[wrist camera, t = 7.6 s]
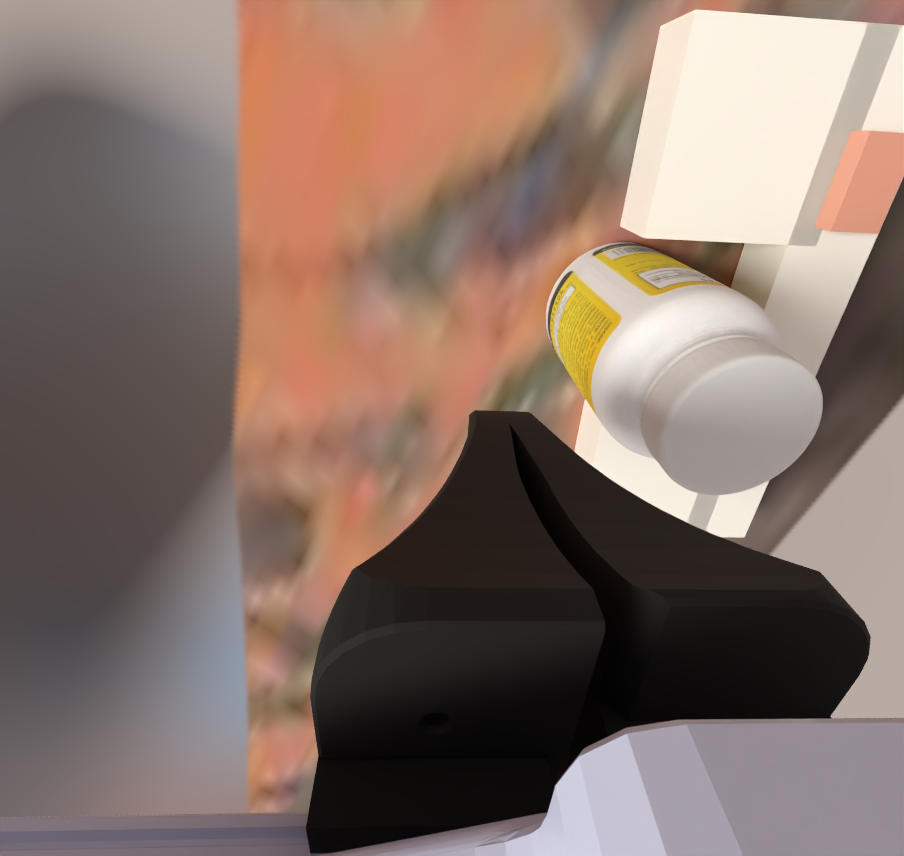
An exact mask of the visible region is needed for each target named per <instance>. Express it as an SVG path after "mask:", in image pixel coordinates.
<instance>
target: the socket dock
mask: <svg viewBox="0 0 904 856" xmlns="http://www.w3.org/2000/svg"><path fill="white" fill-rule="evenodd" d="M903 177H904V25H891V24H878V23H865V22H852V21H839V20H826V19H813V18H800V17H787V16H774V15H761V14H748V13H735V12H722V11H709V10H694V11H692V12H690V13H687V14H685V15H683V16H681V17H679V18H677V19H675V20H672V21H670V22H668V23H666V24H664V25H662V26H660V31H659V36H658V41H657V46H656V51H655V56H654V61H653V66H652V71H651V76H650V81H649V85H648V90H647V95H646V100H645V105H644V110H643V115H642V120H641V125H640V130H639V135H638V140H637V145H636V150H635V155H634V160H633V164H632V169H631V174H630V179H629V184H628V189H627V194H626V199H625V204H624V209H623V214H622V219H621V224H620V227H622V228H624V229H626V230H629V231H631V232H633V233H635V234H637V235H639V236H641V237H643V238H652V239H672V240H693V241H713V242H733V243H745V244H744V247H743V250H742V253H741V256H740V259H739V263H738V266H737V269H736V272H735V275H734V278H733V281H732V284H731V287H730V288H732V289H734V290H736V291H738V292H739V293H741V294H743V295H745V296H746V297H748V298H749V299H751V300H752V301H754V302H755V303H756V304H758V305H759V306H760V307H761V308H762V309H763V310H764V311H765V312H766V313H767V315H768V316H769V317H770V318H771V320H772V322H773V323H774V325H775V327H776V329H777V331H778V334H779V337H780V340H781V344H782V349H783V351H784V352H785V353H787V354H788V355H789V356H791V357H792V358H794V359H795V360H797V361H799V362H800V363H802V364H803V365H805V366H806V367H807V368H808V369H809V370H810V372H811V373H812V374H813V375H814V376H816V374H817V372H818V369H819V367H820V365H821V363H822V360H823V358H824V356H825V354H826V351H827V349H828V347H829V345H830V342H831V340H832V338H833V336H834V333H835V331H836V329H837V326H838V324H839V322H840V320H841V317H842V315H843V313H844V311H845V308H846V306H847V304H848V302H849V299H850V297H851V295H852V292H853V290H854V288H855V286H856V283H857V281H858V279H859V277H860V274H861V272H862V270H863V268H864V265H865V263H866V261H867V259H868V256H869V254H870V252H871V249H872V247H873V245H874V243H875V240H876V238H877V236H878V234H879V231H880V229H881V227H882V225H883V222H884V220H885V218H886V216H887V213H888V211H889V209H890V206H891V204H892V202H893V200H894V197H895V195H896V193H897V191H898V188H899V186H900V184H901V182H902V179H903ZM574 452H575V453H576V454H578V455H579V456H580V457H581V458H583V459H584V460H585V461H586V462H588V463H589V464H590V465H592V466H593V467H594V468H596V469H597V470H598V471H600V472H601V473H603V474H604V475H605V476H607V477H608V478H609V479H611V480H612V481H614V482H615V483H617V484H618V485H620V486H621V487H623V488H625V489H626V490H628V491H630V492H631V493H633V494H635V495H636V496H638V497H639V498H641V499H643V500H644V501H646V502H648V503H650V504H652V505H653V506H655V507H657V508H659V509H661V510H663V511H665V512H667V513H669V514H671V515H673V516H675V517H677V518H679V519H681V520H683V521H685V522H687V523H689V524H691V525H693V526H696V527H698V528H700V529H702V530H705V531H707V532H709V533H711V534H714V535H716V536H719V537H745V535H746V533H747V530H748V528H749V526H750V523H751V521H752V519H753V517H754V514H755V512H756V510H757V508H758V505H759V503H760V501H761V499H762V496H763V494H764V492H765V489H766V487H767V485H768V483H769V481H767V482H765V483H763V484H760V485H758V486H756V487H754V488H751V489H748V490H745V491H742V492H738V493H733V494H726V495H706V494H699V493H696V492H692V491H689V490H687V489H685V488H683V487H681V486H680V485H678V484H677V483H676V482H674V481H673V480H672V479H671V478H670V477H669V476H668V475H667V473H666V472H665V471H664V470H663V468H662V467H661V466H660V464H659V463H658V462H657V461H656V460H655V459H653V458H649V457H645V456H642V455H639V454H637V453H634V452H632V451H630V450H628V449H627V448H625V447H624V446H622V445H621V444H620V443H619V442H617V441H616V440H615V439H614V438H613V437H612V436H611V435H610V434H609V432H608V431H607V430H606V429H605V427H604V426H603V425H602V423H601V422H600V420H599V419H598V417H597V416H596V414H595V413H594V411H593V410H592V408H591V407H590V405H589V404H588V402H587V401H586V399H585V401H584V406H583V411H582V416H581V421H580V426H579V431H578V436H577V441H576V446H575V451H574Z"/></svg>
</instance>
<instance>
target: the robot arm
mask: <svg viewBox="0 0 904 856" xmlns="http://www.w3.org/2000/svg"><path fill="white" fill-rule="evenodd" d="M869 648H870V635H869V632H868V630H867V627H866V625H865V622H864V621H863V620H862V619H861V618H860V617H859V615H858V614H857V613H856V612H855V611H854V610H853V609H852V608H851V606H850V605H849V604H848V603H847V602H846V601H845V600H844V599H843V598H842V596H841V595H840V594H839V593H838V592H837V591H836V589H835V588H834V587H833V586H832V585H831V584H830V583H829V582H828V580H827V579H826V578H825V577H824V576H823V575H822V574H821V573H820V572H818V571H816V570H813V569H810V568H806V567H803V566H800V565H797V564H794V563H791V562H788V561H785V560H782V559H779V558H776V557H773V556H770V555H767V554H764V553H761V552H758V551H755V550H752V549H749V548H746V547H744V546H741V545H739V544H736V543H734V542H731V541H729V540H726V539H724V538H721V537H719V536H716V535H714V534H711V533H709V532H707V531H705V530H702V529H700V528H698V527H696V526H693V525H691V524H689V523H687V522H685V521H683V520H681V519H679V518H677V517H675V516H673V515H671V514H669V513H667V512H665V511H663V510H661V509H659V508H657V507H655V506H653V505H652V504H650V503H648V502H646V501H644V500H643V499H641V498H639V497H638V496H636V495H635V494H633V493H631V492H630V491H628V490H626V489H625V488H623V487H621V486H620V485H618V484H617V483H615V482H614V481H612V480H611V479H609V478H608V477H607V476H605V475H604V474H603V473H601V472H600V471H598V470H597V469H596V468H594V467H593V466H592V465H590V464H589V463H588V462H586V461H585V460H584V459H583V458H581V457H580V456H579V455H578V454H576V453H575V452H574V451H573V450H572V449H570V448H569V447H568V446H567V445H566V444H565V443H563V442H562V441H561V440H560V439H559V438H558V437H557V436H556V435H554V434H553V433H552V432H551V431H550V430H549V429H548V428H547V427H546V426H544V425H543V424H542V423H541V422H540V421H539V420H538V419H537V418H535V417H534V416H533V415H532V414H531V413H529V412H512V411H477V410H475V411H474V412H472V413H471V414H470V415H469V427H468V437H467V440H466V442H465V445H464V447H463V450H462V453H461V455H460V457H459V459H458V461H457V463H456V465H455V466H454V468H453V470H452V472H451V474H450V476H449V477H448V479H447V481H446V482H445V484H444V485H443V487H442V488H441V489H440V491H439V492H438V494H437V495H436V496H435V498H434V499H433V500H432V501H431V503H430V504H429V505H428V506H427V507H426V509H425V510H424V511H423V512H422V513H421V514H420V516H419V517H418V518H417V519H416V520H415V521H414V522H413V523H412V524H411V525H410V526H409V527H408V528H406V529H405V530H404V531H403V532H402V533H401V534H400V535H399V536H398V537H397V538H395V539H394V540H393V541H392V542H391V543H390V544H389V545H387V546H386V547H385V548H384V549H382V550H381V551H379V552H378V553H377V554H375V555H374V556H372V557H371V558H370V559H368V560H367V561H365V562H364V563H362V564H361V565H359V566H357V567H356V568H354V569H353V570H352V571H351V573H350V575H349V577H348V579H347V581H346V583H345V584H344V586H343V588H342V590H341V592H340V594H339V596H338V598H337V600H336V603H335V605H334V607H333V609H332V611H331V614H330V616H329V619H328V621H327V624H326V626H325V629H324V632H323V635H322V638H321V641H320V644H319V648H318V652H317V657H316V662H315V666H314V671H313V676H312V683H311V695H310V698H311V706H312V713H313V720H314V727H315V734H316V741H317V748H318V755H319V757H318V762H317V768H316V774H315V779H314V785H313V790H312V796H311V802H310V807H309V812H293V813H241V814H240V813H235V814H182V815H181V814H175V815H120V816H119V815H116V816H60V817H59V816H58V817H2V818H1V817H0V856H904V718H850V719H849V718H847V719H846V718H845V719H832V718H831V717H830V716H831V714H832V713H833V711H834V710H835V709H836V707H837V706H838V705H839V703H840V701H841V700H842V699H843V697H844V696H845V694H846V693H847V692H848V690H849V689H850V688H851V686H852V685H853V683H854V682H855V680H856V679H857V678H858V676H859V675H860V673H861V671H862V669H863V667H864V665H865V663H866V661H867V659H868V655H869Z"/></svg>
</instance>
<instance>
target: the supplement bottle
mask: <svg viewBox="0 0 904 856" xmlns="http://www.w3.org/2000/svg"><path fill="white" fill-rule="evenodd" d="M546 327H547V332H548V336H549V339H550V342H551V344H552V346H553V348H554V350H555V352H556V354H557V355H558V356H559V358H560V360H561V361H562V363H563V364H564V366H565V368H566V369H567V371H568V372H569V374H570V376H571V377H572V379H573V380H574V382H575V383H576V385H577V387H578V388H579V390H580V391H581V393H582V394H583V396H584V398H585V399H586V401H587V402H588V404H589V405H590V407H591V408H592V410H593V411H594V413H595V414H596V416H597V417H598V419H599V420H600V422H601V423H602V425H603V426H604V427H605V429H606V430H607V431H608V432H609V434H610V435H611V436H612V437H613V438H614V439H615V440H616V441H617V442H619V443H620V444H621V445H622V446H624V447H625V448H627V449H628V450H630V451H632V452H634V453H637V454H639V455H642V456H645V457H649V458H653V459H655V460H656V461H657V462H658V463H659V464H660V466H661V467H662V468H663V470H664V471H665V472H666V473H667V475H668V476H669V477H670V478H671V479H672V480H673V481H674V482H676V483H677V484H678V485H680V486H681V487H683V488H685V489H687V490H689V491H692V492H696V493H699V494H706V495H726V494H733V493H738V492H742V491H745V490H748V489H751V488H754V487H756V486H758V485H760V484H763V483H765V482H767V481H769V480H770V479H772V478H774V477H776V476H777V475H779V474H780V473H781V472H783V471H784V470H785V469H787V468H788V467H789V466H790V465H791V464H792V463H793V462H794V461H796V460H797V458H798V457H799V456H800V455H801V454H802V453H803V452H804V451H805V449H806V448H807V446H808V445H809V443H810V442H811V440H812V439H813V437H814V435H815V433H816V431H817V429H818V427H819V424H820V420H821V416H822V410H823V397H822V392H821V388H820V386H819V384H818V381H817V379H816V378H815V376H814V375H813V374H812V373H811V372H810V370H809V369H808V368H807V367H806V366H805V365H803V364H802V363H800V362H799V361H797V360H795V359H794V358H792V357H791V356H789V355H788V354H787V353H785V352H784V351H783V349H782V344H781V340H780V337H779V334H778V331H777V329H776V327H775V325H774V323H773V322H772V320H771V318H770V317H769V316H768V315H767V313H766V312H765V311H764V310H763V309H762V308H761V307H760V306H759V305H758V304H756V303H755V302H754V301H752V300H751V299H749V298H748V297H746V296H745V295H743V294H741V293H739V292H738V291H736V290H734V289H732V288H730V287H728V286H726V285H724V284H722V283H720V282H718V281H716V280H714V279H712V278H710V277H708V276H706V275H704V274H702V273H700V272H698V271H696V270H694V269H692V268H690V267H688V266H686V265H685V264H683V263H680V262H678V261H677V260H675V259H673V258H671V257H669V256H667V255H665V254H663V253H661V252H659V251H657V250H655V249H653V248H650V247H647V246H644V245H641V244H637V243H631V242H615V243H609V244H605V245H602V246H599V247H596V248H594V249H592V250H590V251H588V252H586V253H584V254H583V255H581V256H580V257H578V258H577V259H576V260H575V261H574V262H572V263H571V264H570V265H569V266H568V267H567V268H566V269H565V270H564V272H563V273H562V274H561V276H560V277H559V279H558V280H557V282H556V283H555V285H554V287H553V289H552V292H551V294H550V297H549V300H548V304H547V309H546Z"/></svg>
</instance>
